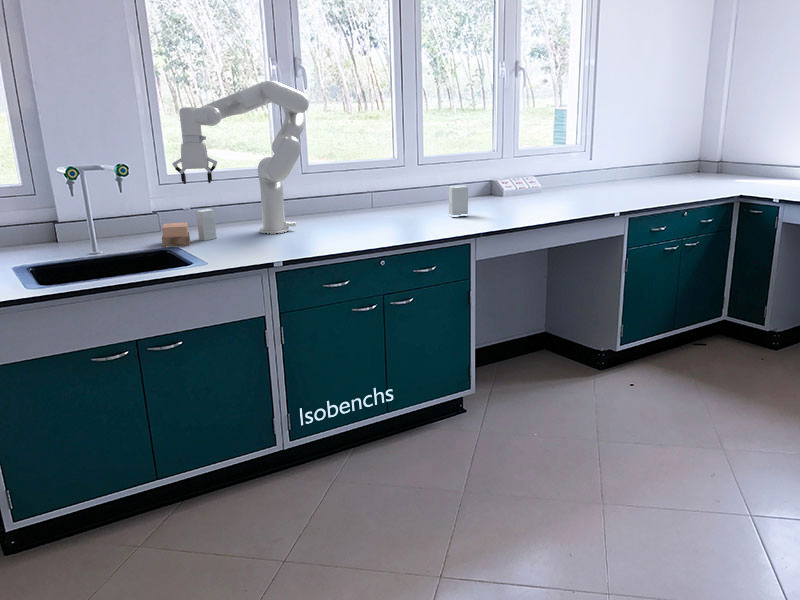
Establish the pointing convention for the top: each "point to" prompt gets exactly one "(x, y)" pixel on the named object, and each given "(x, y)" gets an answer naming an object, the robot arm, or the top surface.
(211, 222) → the skincare box
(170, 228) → the tower top block
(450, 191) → the skincare box
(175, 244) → the tower base block
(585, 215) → the top surface
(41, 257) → the top surface
